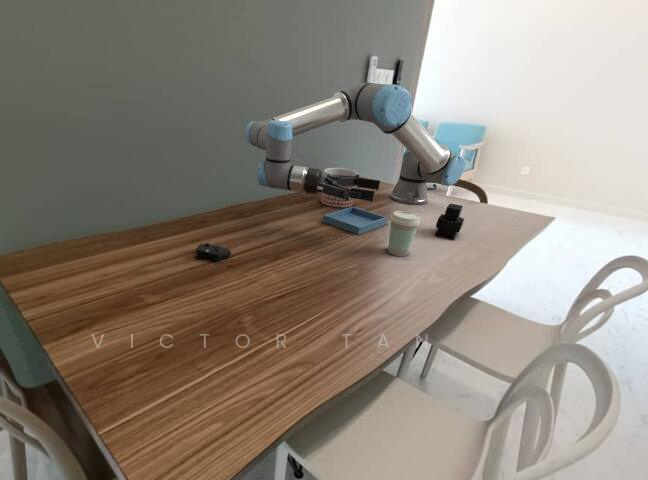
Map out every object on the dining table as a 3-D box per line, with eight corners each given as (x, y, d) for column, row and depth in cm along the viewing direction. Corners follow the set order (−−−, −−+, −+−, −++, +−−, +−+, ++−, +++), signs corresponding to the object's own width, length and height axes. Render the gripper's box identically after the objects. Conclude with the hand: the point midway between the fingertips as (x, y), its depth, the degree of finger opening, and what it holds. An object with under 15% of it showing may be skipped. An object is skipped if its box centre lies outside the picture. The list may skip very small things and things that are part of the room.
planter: (320, 197, 169) (324, 166, 162) (352, 200, 168) (357, 169, 161) (319, 206, 157) (323, 174, 151) (354, 209, 156) (359, 177, 149)
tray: (351, 212, 152) (352, 206, 151) (386, 224, 143) (387, 217, 142) (322, 221, 142) (323, 214, 140) (358, 234, 132) (359, 227, 131)
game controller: (232, 251, 113) (226, 242, 107) (227, 268, 111) (220, 260, 106) (202, 245, 115) (194, 236, 109) (196, 262, 114) (188, 254, 108)
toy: (462, 229, 143) (470, 202, 138) (455, 241, 132) (464, 212, 127) (440, 224, 146) (448, 198, 141) (432, 235, 135) (440, 207, 130)
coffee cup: (413, 250, 123) (423, 213, 117) (409, 260, 116) (419, 221, 110) (386, 244, 126) (394, 208, 120) (380, 254, 119) (389, 216, 113)
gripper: (315, 183, 132) (378, 193, 127) (293, 202, 112) (368, 215, 106) (318, 160, 129) (383, 169, 123) (296, 176, 108) (373, 187, 103)
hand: (376, 190), depth 115 cm, fingers open, 13 cm apart
